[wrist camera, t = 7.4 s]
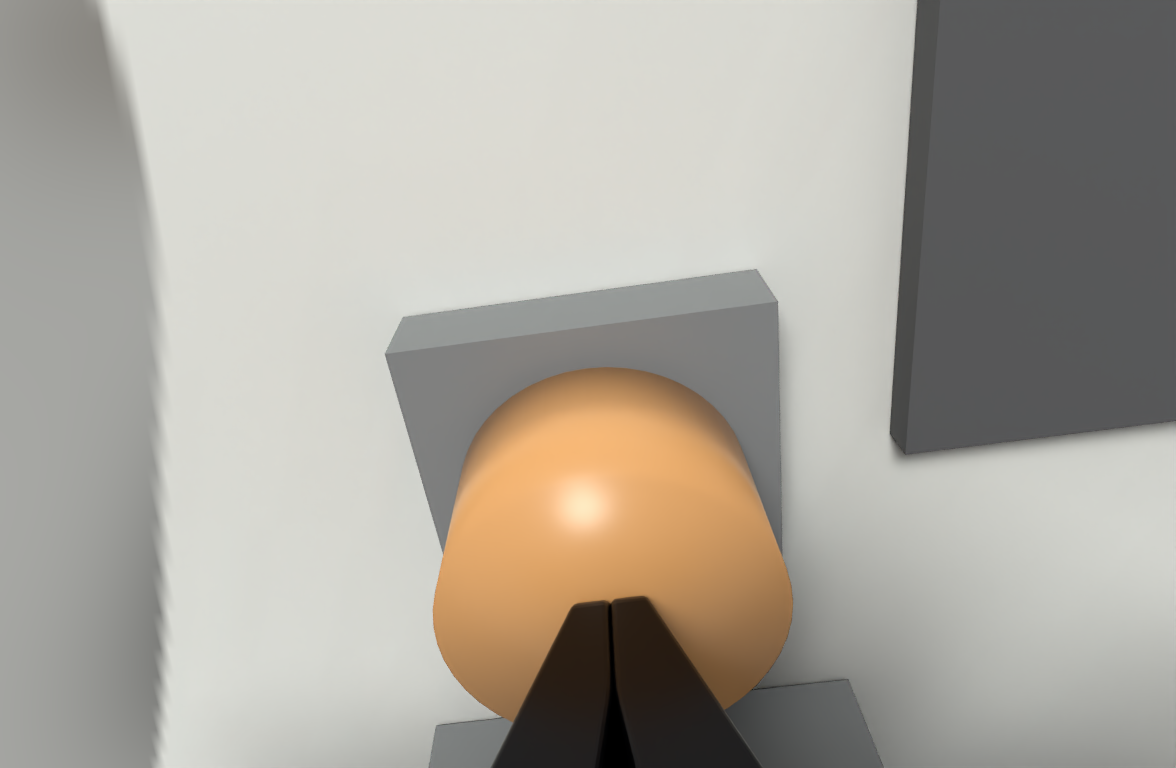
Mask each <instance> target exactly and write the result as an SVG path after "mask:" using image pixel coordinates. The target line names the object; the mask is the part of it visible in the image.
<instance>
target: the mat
mask: <svg viewBox="0 0 1176 768" xmlns="http://www.w3.org/2000/svg"><path fill="white" fill-rule="evenodd" d="M1170 421H1176V0H918V9H917V24H916V40H915V55H914V71H913V86H912V102H911V117H910V133H909V149H908V164H907V180H906V195H905V211H904V226H903V242H902V257H901V273H900V288H899V304H898V319H897V335H896V351H895V366H894V382H893V397H892V413H891V428H890V434H891V435H892V436H893V438H894V439H895V441H896V442H897V443H898V445H899V446H900V448H901V449H902V450H903V452H904V453H905V454H913V453H921V452H929V451H937V450H945V449H953V448H961V447H969V446H977V445H985V444H993V443H1001V442H1009V441H1017V440H1025V439H1033V438H1041V437H1049V436H1057V435H1065V434H1073V433H1081V432H1090V431H1098V430H1106V429H1114V428H1122V427H1130V426H1138V425H1146V424H1154V423H1162V422H1170Z"/></svg>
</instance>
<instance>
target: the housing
mask: <svg viewBox="0 0 1176 768" xmlns="http://www.w3.org/2000/svg"><path fill="white" fill-rule="evenodd" d="M385 356H386V360H387V363H388V367H389V370H390V373H391V377H392V380H393V384H394V387H395V391H396V394H397V397H398V401H399V404H400V408H401V411H402V414H403V418H404V421H405V425H406V428H407V432H408V435H409V438H410V442H411V445H412V449H413V452H414V456H415V459H416V462H417V466H418V469H419V473H420V476H421V480H422V483H423V486H424V490H425V493H426V497H427V500H428V504H429V507H430V510H431V514H432V517H433V521H434V524H435V527H436V531H437V534H438V538H439V541H440V545H441V548H442V551H443V554H444V550H445V545H446V540H447V536H448V531H449V527H450V522H451V517H452V513H453V508H454V504H455V499H456V494H457V490H458V485H459V481H460V476H461V471H462V467H463V463H464V460H465V457H466V454H467V451H468V449H469V447H470V445H471V442H472V440H473V438H474V436H475V435H476V433H477V432H478V430H479V429H480V428H481V426H482V425H483V423H484V422H485V421H486V420H487V419H488V417H489V416H490V415H491V414H492V413H493V412H494V411H495V410H496V409H497V408H498V407H499V406H501V405H502V404H503V403H504V402H505V401H507V400H508V399H509V398H510V397H512V396H513V395H515V394H517V393H518V392H520V391H521V390H523V389H525V388H526V387H528V386H530V385H532V384H535V383H537V382H539V381H541V380H543V379H546V378H549V377H552V376H555V375H558V374H561V373H564V372H569V371H575V370H580V369H585V368H599V367H615V368H629V369H635V370H641V371H647V372H650V373H653V374H657V375H660V376H664V377H666V378H669V379H671V380H673V381H676V382H678V383H680V384H682V385H684V386H686V387H688V388H689V389H691V390H693V391H694V392H696V393H698V394H699V395H700V396H702V397H703V398H704V399H705V400H707V401H708V402H709V403H710V404H711V405H713V406H714V407H715V408H716V410H717V411H718V412H719V413H720V414H721V415H722V416H723V417H724V418H725V420H726V421H727V423H728V424H729V425H730V427H731V428H732V430H733V431H734V433H735V435H736V437H737V439H738V441H739V444H740V446H741V448H742V451H743V453H744V456H745V459H746V461H747V464H748V467H749V469H750V472H751V475H752V477H753V480H754V483H755V485H756V488H757V491H758V493H759V496H760V499H761V502H762V504H763V507H764V510H765V512H766V515H767V518H768V520H769V523H770V526H771V528H772V531H773V534H774V536H775V539H776V542H777V544H778V547H779V550H780V552H781V555H782V514H781V455H780V396H779V338H778V301H777V299H776V298H775V296H774V295H773V293H772V292H771V290H770V289H769V287H768V286H767V284H766V283H765V281H764V280H763V278H762V277H761V275H760V274H759V272H758V271H757V269H754V270H746V271H739V272H732V273H724V274H717V275H710V276H702V277H695V278H688V279H680V280H673V281H665V282H658V283H651V284H643V285H636V286H629V287H621V288H614V289H606V290H599V291H592V292H584V293H577V294H570V295H562V296H555V297H548V298H540V299H533V300H525V301H518V302H511V303H503V304H496V305H489V306H481V307H474V308H467V309H459V310H452V311H444V312H437V313H430V314H422V315H415V316H408V317H403V318H402V320H401V322H400V324H399V326H398V328H397V330H396V332H395V334H394V336H393V338H392V340H391V343H390V345H389V347H388V349H387V351H386V353H385ZM725 712H726V713H727V715H728V716H729V718H730V719H731V721H732V722H733V723H734V725H735V726H736V728H737V729H738V731H739V732H740V734H741V735H742V737H743V738H744V740H745V741H746V743H747V744H748V746H749V747H750V749H751V750H752V752H753V753H754V754H755V756H756V757H757V759H758V760H759V762H760V763H761V765H762V766H763V768H884V767H883V765H882V762H881V760H880V757H879V755H878V752H877V750H876V747H875V745H874V742H873V740H872V737H871V735H870V732H869V730H868V728H867V725H866V723H865V720H864V718H863V715H862V713H861V710H860V708H859V705H858V703H857V700H856V698H855V695H854V693H853V690H852V688H851V685H850V683H849V680H839V681H830V682H821V683H812V684H803V685H794V686H785V687H776V688H767V689H758V690H750V691H749V692H748V693H747V694H746V695H745V696H744V697H742V698H741V699H740V700H738V701H737V702H735V703H734V704H733V705H731V706H730V707H729V708H727V709H725ZM512 723H513V722H511V721H509V720H507V719H505V718H500V719H491V720H482V721H473V722H464V723H455V724H446V725H437V726H436V729H435V735H434V741H433V746H432V752H431V758H430V763H429V768H490V767H491V765H492V763H493V761H494V759H495V757H496V755H497V753H498V751H499V749H500V747H501V745H502V743H503V741H504V739H505V737H506V735H507V733H508V731H509V729H510V727H511V725H512Z"/></svg>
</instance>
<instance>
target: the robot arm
mask: <svg viewBox="0 0 1176 768" xmlns="http://www.w3.org/2000/svg"><path fill="white" fill-rule="evenodd" d="M490 768H763V766H762V765H761V763H760V762H759V760H758V759H757V757H756V756H755V754H754V753H753V752H752V750H751V749H750V747H749V746H748V744H747V743H746V741H745V740H744V738H743V737H742V735H741V734H740V732H739V731H738V729H737V728H736V726H735V725H734V723H733V722H732V721H731V719H730V718H729V716H728V715H727V713H726V712H725V710H724V709H723V707H722V706H721V704H720V703H719V701H718V700H717V698H716V697H715V695H714V694H713V693H712V691H711V690H710V688H709V687H708V685H707V684H706V682H705V681H704V679H703V678H702V676H701V675H700V673H699V672H698V670H697V669H696V667H695V666H694V664H693V663H692V662H691V660H690V659H689V657H688V656H687V654H686V653H685V651H684V650H683V648H682V647H681V645H680V644H679V642H678V641H677V639H676V638H675V636H674V635H673V633H672V632H671V631H670V629H669V628H668V626H667V625H666V623H665V622H664V620H663V619H662V617H661V616H660V614H659V613H658V611H657V610H656V608H655V607H654V605H653V604H652V602H651V601H650V600H649V599H648V598H647V597H645V596H634V597H625V598H617V599H614V600H613V601H612V602H611V606H610V604H609V603H608V602H607V601H605V600H599V601H591V602H583V603H576V604H574V605H573V606H572V607H571V609H570V610H569V612H568V614H567V616H566V618H565V620H564V622H563V624H562V626H561V628H560V630H559V632H558V634H557V636H556V638H555V640H554V642H553V644H552V646H551V648H550V650H549V652H548V654H547V656H546V658H545V660H544V662H543V664H542V666H541V668H540V670H539V672H538V674H537V676H536V678H535V680H534V682H533V684H532V686H531V688H530V689H529V691H528V693H527V695H526V697H525V699H524V701H523V703H522V705H521V707H520V709H519V711H518V713H517V715H516V717H515V719H514V721H513V723H512V725H511V727H510V729H509V731H508V733H507V735H506V737H505V739H504V741H503V743H502V745H501V747H500V749H499V751H498V753H497V755H496V757H495V759H494V761H493V763H492V765H491V767H490Z"/></svg>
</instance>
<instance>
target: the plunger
mask: <svg viewBox="0 0 1176 768" xmlns="http://www.w3.org/2000/svg"><path fill="white" fill-rule="evenodd" d="M634 596H645V597H647V598H648V599H649V600H650V601H651V602H652V604H653V605H654V607H655V608H656V610H657V611H658V613H659V614H660V616H661V617H662V619H663V620H664V622H665V623H666V625H667V626H668V628H669V629H670V631H671V632H672V633H673V635H674V636H675V638H676V639H677V641H678V642H679V644H680V645H681V647H682V648H683V650H684V651H685V653H686V654H687V656H688V657H689V659H690V660H691V662H692V663H693V664H694V666H695V667H696V669H697V670H698V672H699V673H700V675H701V676H702V678H703V679H704V681H705V682H706V684H707V685H708V687H709V688H710V690H711V691H712V693H713V694H714V695H715V697H716V698H717V700H718V701H719V703H720V704H721V706H722V707H723V709H724V710H725V709H727V708H729V707H730V706H731V705H733V704H734V703H735V702H737V701H738V700H740V699H741V698H742V697H744V696H745V695H746V694H747V693H748V692H749V691H750V690H751V689H753V688H754V687H755V686H756V685H757V684H758V683H759V682H760V681H761V679H762V678H763V677H764V676H765V675H766V674H767V672H768V671H769V670H770V669H771V667H772V666H773V664H774V662H775V661H776V659H777V658H778V656H779V655H780V653H781V650H782V648H783V646H784V644H785V641H786V639H787V636H788V633H789V629H790V625H791V621H792V610H793V597H792V587H791V583H790V579H789V576H788V572H787V569H786V566H785V563H784V560H783V558H782V555H781V552H780V550H779V547H778V544H777V542H776V539H775V536H774V534H773V531H772V528H771V526H770V523H769V520H768V518H767V515H766V512H765V510H764V507H763V504H762V502H761V499H760V496H759V493H758V491H757V488H756V485H755V483H754V480H753V477H752V475H751V472H750V469H749V467H748V464H747V461H746V459H745V456H744V453H743V451H742V448H741V446H740V444H739V441H738V439H737V437H736V435H735V433H734V431H733V430H732V428H731V427H730V425H729V424H728V423H727V421H726V420H725V418H724V417H723V416H722V415H721V414H720V413H719V412H718V411H717V410H716V408H715V407H714V406H713V405H711V404H710V403H709V402H708V401H707V400H705V399H704V398H703V397H702V396H700V395H699V394H698V393H696V392H694V391H693V390H691V389H689V388H688V387H686V386H684V385H682V384H680V383H678V382H676V381H673V380H671V379H669V378H666V377H664V376H660V375H657V374H653V373H650V372H647V371H641V370H635V369H629V368H615V367H599V368H585V369H580V370H575V371H569V372H564V373H561V374H558V375H555V376H552V377H549V378H546V379H543V380H541V381H539V382H537V383H535V384H532V385H530V386H528V387H526V388H525V389H523V390H521V391H520V392H518V393H517V394H515V395H513V396H512V397H510V398H509V399H508V400H507V401H505V402H504V403H503V404H502V405H501V406H499V407H498V408H497V409H496V410H495V411H494V412H493V413H492V414H491V415H490V416H489V417H488V419H487V420H486V421H485V422H484V423H483V425H482V426H481V428H480V429H479V430H478V432H477V433H476V435H475V436H474V438H473V440H472V442H471V445H470V447H469V449H468V451H467V454H466V457H465V460H464V463H463V467H462V471H461V476H460V481H459V485H458V490H457V494H456V499H455V504H454V508H453V513H452V517H451V522H450V527H449V531H448V536H447V540H446V545H445V550H444V554H443V559H442V563H441V568H440V573H439V577H438V582H437V586H436V591H435V598H434V605H433V624H434V631H435V636H436V640H437V644H438V647H439V649H440V652H441V654H442V657H443V659H444V661H445V663H446V664H447V666H448V668H449V669H450V671H451V672H452V674H453V676H454V677H455V678H456V679H457V680H458V682H459V683H460V684H461V685H462V686H463V687H464V689H465V690H466V691H468V692H469V693H470V694H471V695H472V696H473V697H474V698H475V699H476V700H477V701H479V702H480V703H481V704H483V705H484V706H486V707H487V708H489V709H490V710H491V711H493V712H494V713H496V714H498V715H500V716H502V717H504V718H505V719H507V720H509V721H511V722H513V721H514V719H515V717H516V715H517V713H518V711H519V709H520V707H521V705H522V703H523V701H524V699H525V697H526V695H527V693H528V691H529V689H530V688H531V686H532V684H533V682H534V680H535V678H536V676H537V674H538V672H539V670H540V668H541V666H542V664H543V662H544V660H545V658H546V656H547V654H548V652H549V650H550V648H551V646H552V644H553V642H554V640H555V638H556V636H557V634H558V632H559V630H560V628H561V626H562V624H563V622H564V620H565V618H566V616H567V614H568V612H569V610H570V609H571V607H572V606H573V605H574V604H576V603H583V602H591V601H599V600H605V601H607V602H608V603H609V604H610V606H611V602H612V601H613V600H614V599H617V598H625V597H634Z"/></svg>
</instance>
